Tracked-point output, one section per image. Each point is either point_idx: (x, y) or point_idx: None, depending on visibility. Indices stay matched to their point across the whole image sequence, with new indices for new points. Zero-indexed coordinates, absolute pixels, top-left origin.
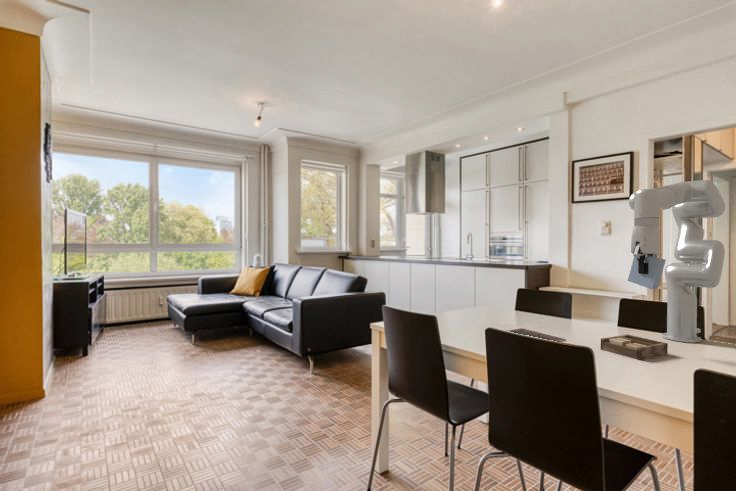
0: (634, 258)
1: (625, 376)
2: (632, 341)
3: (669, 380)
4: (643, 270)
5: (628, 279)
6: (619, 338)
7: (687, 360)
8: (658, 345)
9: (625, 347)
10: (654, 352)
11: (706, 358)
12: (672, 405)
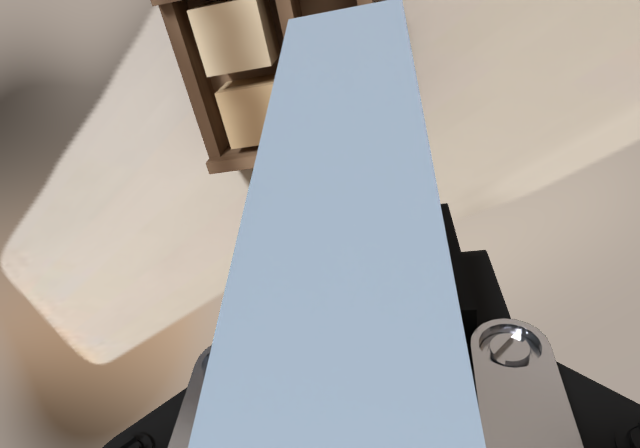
0: (233, 303)
1: (93, 226)
2: None
3: (190, 274)
4: None
5: (287, 36)
6: (246, 15)
7: None
8: None
9: (196, 112)
10: None
11: (522, 172)
12: (87, 353)
